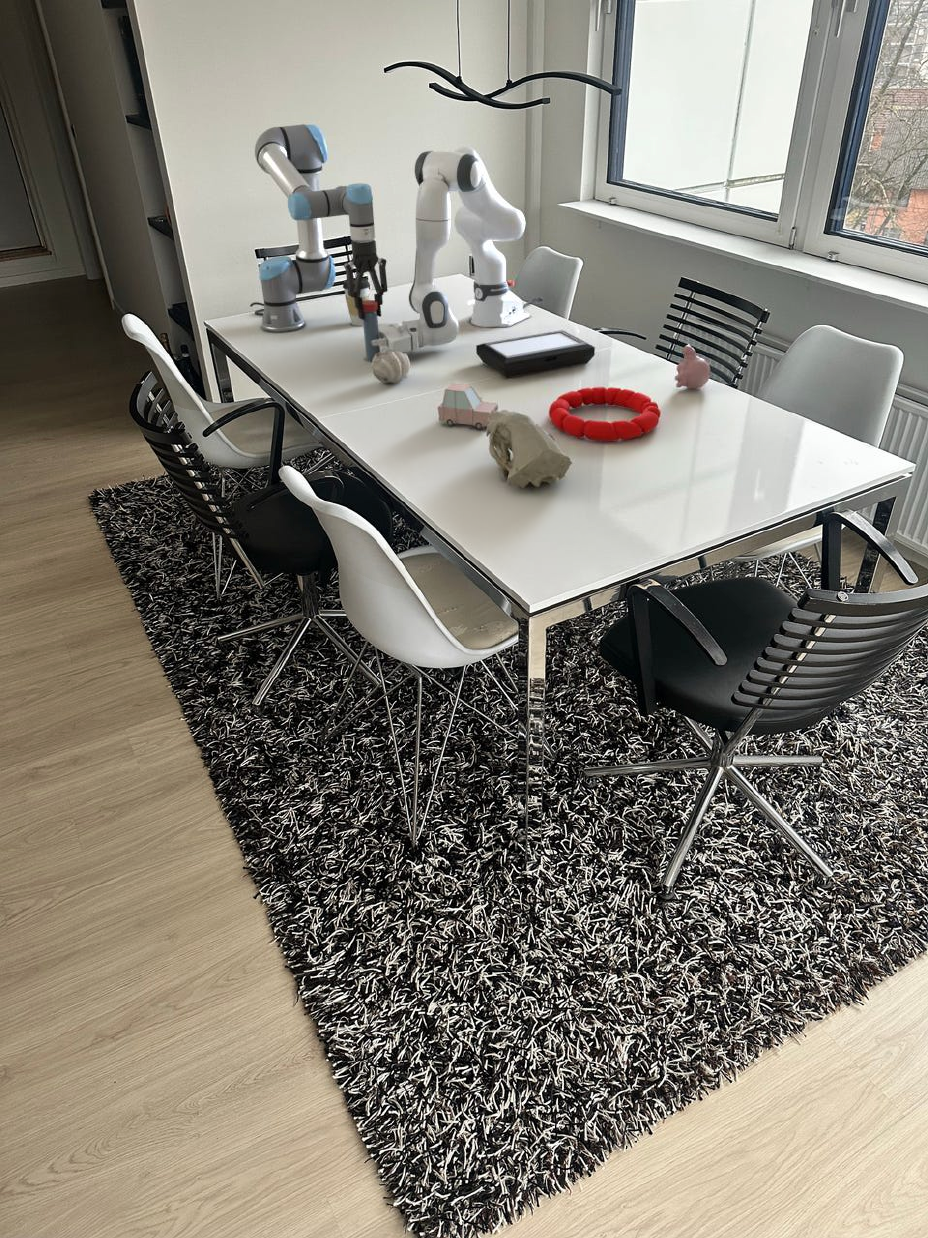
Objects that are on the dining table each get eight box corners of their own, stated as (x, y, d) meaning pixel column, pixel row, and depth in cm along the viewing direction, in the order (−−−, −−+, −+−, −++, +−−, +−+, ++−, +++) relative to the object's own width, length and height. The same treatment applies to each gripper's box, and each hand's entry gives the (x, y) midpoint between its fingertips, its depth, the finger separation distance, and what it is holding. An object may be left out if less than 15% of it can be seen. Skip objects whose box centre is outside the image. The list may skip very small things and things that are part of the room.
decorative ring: (589, 435, 224) (684, 402, 234) (527, 398, 247) (617, 369, 256) (589, 461, 229) (683, 427, 238) (529, 422, 251) (617, 393, 260)
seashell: (364, 381, 275) (361, 349, 270) (407, 372, 281) (405, 341, 275) (377, 391, 268) (374, 358, 262) (421, 382, 273) (420, 349, 268)
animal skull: (496, 517, 219) (521, 479, 201) (463, 429, 225) (484, 384, 207) (557, 503, 225) (586, 465, 206) (523, 417, 231) (549, 373, 212)
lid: (359, 312, 282) (359, 304, 281) (361, 307, 287) (361, 300, 286) (377, 311, 282) (376, 304, 281) (378, 306, 287) (378, 299, 286)
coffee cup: (372, 326, 323) (368, 283, 314) (345, 327, 323) (340, 284, 315) (374, 318, 331) (371, 276, 322) (348, 319, 331) (344, 277, 323)
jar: (377, 361, 291) (372, 307, 281) (364, 360, 292) (359, 306, 283) (383, 357, 295) (378, 303, 285) (369, 355, 296) (365, 302, 286)
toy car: (488, 432, 240) (488, 396, 234) (436, 426, 244) (434, 390, 239) (499, 419, 247) (499, 384, 241) (448, 413, 252) (447, 379, 246)
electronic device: (503, 360, 269) (476, 342, 284) (503, 380, 272) (476, 362, 287) (595, 344, 279) (563, 327, 294) (594, 364, 283) (563, 346, 298)
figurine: (665, 387, 264) (669, 347, 257) (693, 380, 268) (698, 340, 261) (686, 396, 257) (690, 355, 250) (714, 388, 262) (720, 348, 255)
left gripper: (339, 245, 267) (347, 324, 280) (395, 238, 273) (400, 315, 287) (330, 241, 272) (339, 318, 285) (385, 234, 279) (391, 309, 292)
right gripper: (401, 316, 300) (361, 321, 296) (418, 333, 284) (376, 338, 280) (402, 335, 303) (362, 340, 300) (419, 353, 287) (377, 358, 284)
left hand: (369, 316), depth 286 cm, fingers closed on lid, 5 cm apart
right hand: (369, 339), depth 290 cm, fingers closed on jar, 5 cm apart
